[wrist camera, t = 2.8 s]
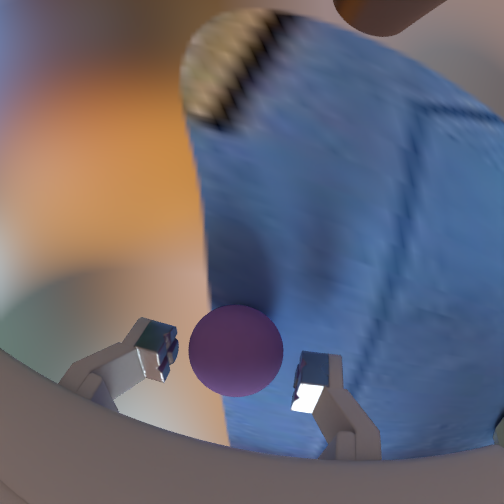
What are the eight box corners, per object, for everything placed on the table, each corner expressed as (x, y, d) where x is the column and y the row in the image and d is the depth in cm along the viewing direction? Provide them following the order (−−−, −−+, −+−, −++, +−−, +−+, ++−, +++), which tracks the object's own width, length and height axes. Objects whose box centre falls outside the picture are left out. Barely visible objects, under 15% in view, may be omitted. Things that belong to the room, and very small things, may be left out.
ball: (203, 279, 12) (169, 341, 9) (293, 294, 11) (285, 365, 8) (205, 341, 13) (180, 401, 10) (280, 355, 13) (270, 420, 10)
